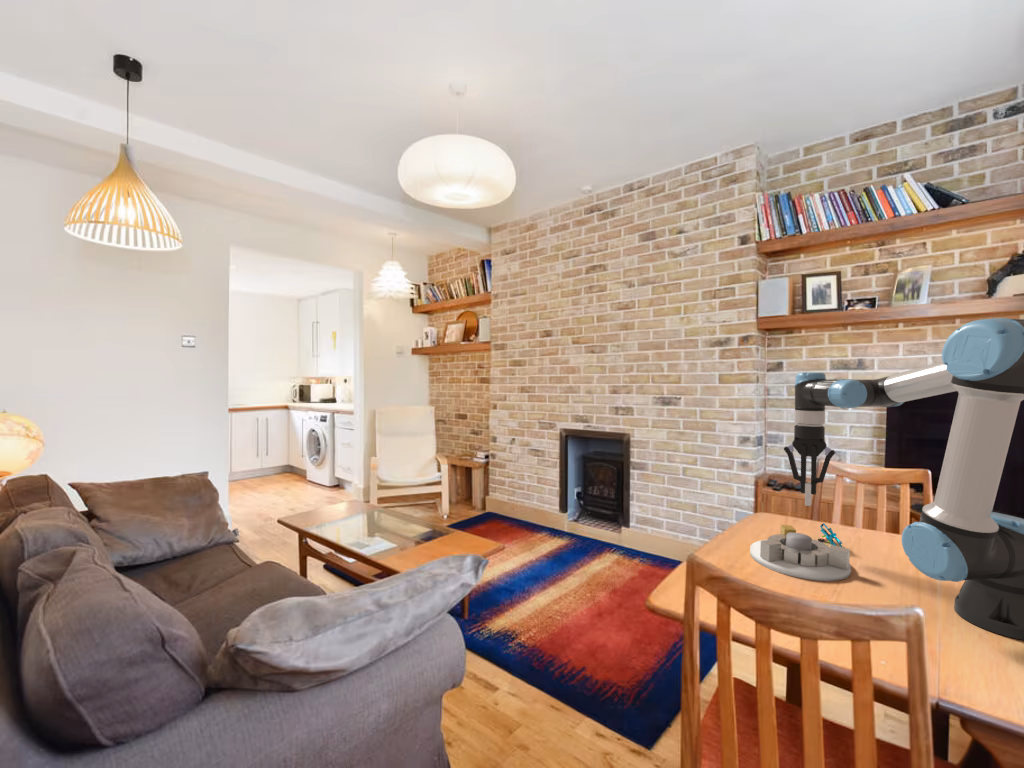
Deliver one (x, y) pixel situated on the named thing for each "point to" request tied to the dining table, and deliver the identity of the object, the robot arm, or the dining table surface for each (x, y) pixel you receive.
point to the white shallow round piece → (799, 571)
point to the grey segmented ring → (803, 551)
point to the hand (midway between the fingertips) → (808, 504)
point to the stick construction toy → (828, 536)
